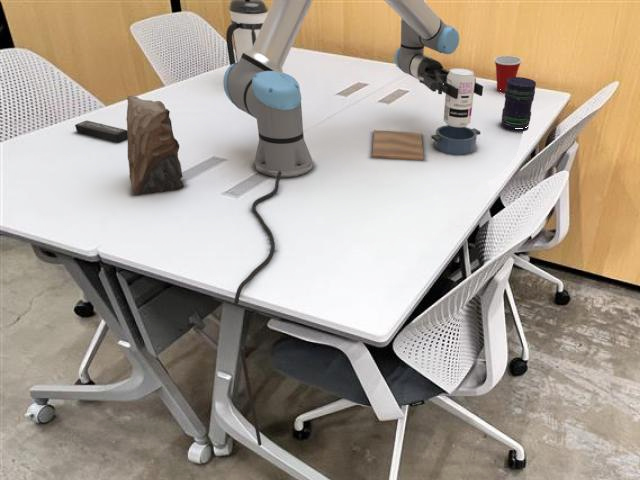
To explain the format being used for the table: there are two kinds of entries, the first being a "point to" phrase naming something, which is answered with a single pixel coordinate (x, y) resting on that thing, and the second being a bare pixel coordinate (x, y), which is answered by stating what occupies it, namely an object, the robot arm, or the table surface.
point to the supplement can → (459, 98)
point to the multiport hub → (102, 131)
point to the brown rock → (151, 148)
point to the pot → (455, 139)
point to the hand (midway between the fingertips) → (469, 92)
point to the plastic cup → (506, 70)
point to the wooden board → (397, 145)
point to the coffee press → (244, 26)
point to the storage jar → (518, 103)
